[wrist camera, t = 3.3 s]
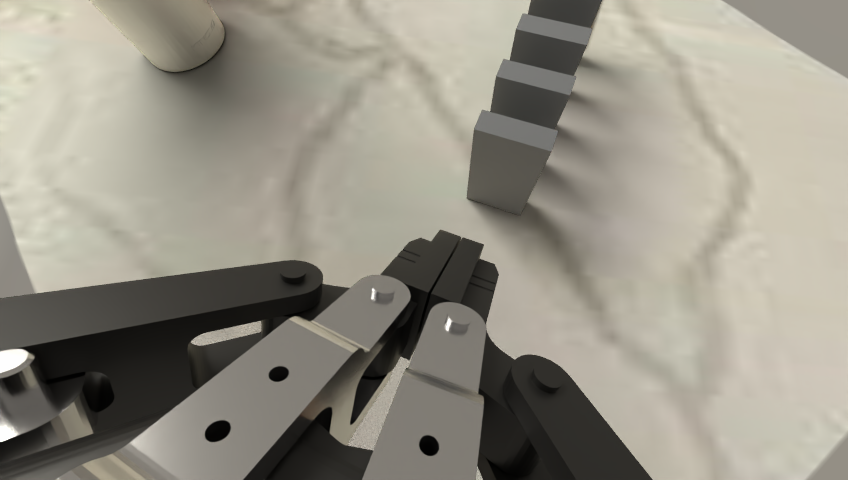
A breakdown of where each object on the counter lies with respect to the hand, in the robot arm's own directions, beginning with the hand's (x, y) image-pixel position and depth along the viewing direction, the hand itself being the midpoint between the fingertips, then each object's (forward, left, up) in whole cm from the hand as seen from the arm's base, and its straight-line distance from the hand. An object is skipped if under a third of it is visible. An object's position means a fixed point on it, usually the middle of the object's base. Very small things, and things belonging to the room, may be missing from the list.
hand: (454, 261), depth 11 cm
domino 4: (0, +11, -18) cm, 21 cm away
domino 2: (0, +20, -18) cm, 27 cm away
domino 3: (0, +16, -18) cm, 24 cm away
